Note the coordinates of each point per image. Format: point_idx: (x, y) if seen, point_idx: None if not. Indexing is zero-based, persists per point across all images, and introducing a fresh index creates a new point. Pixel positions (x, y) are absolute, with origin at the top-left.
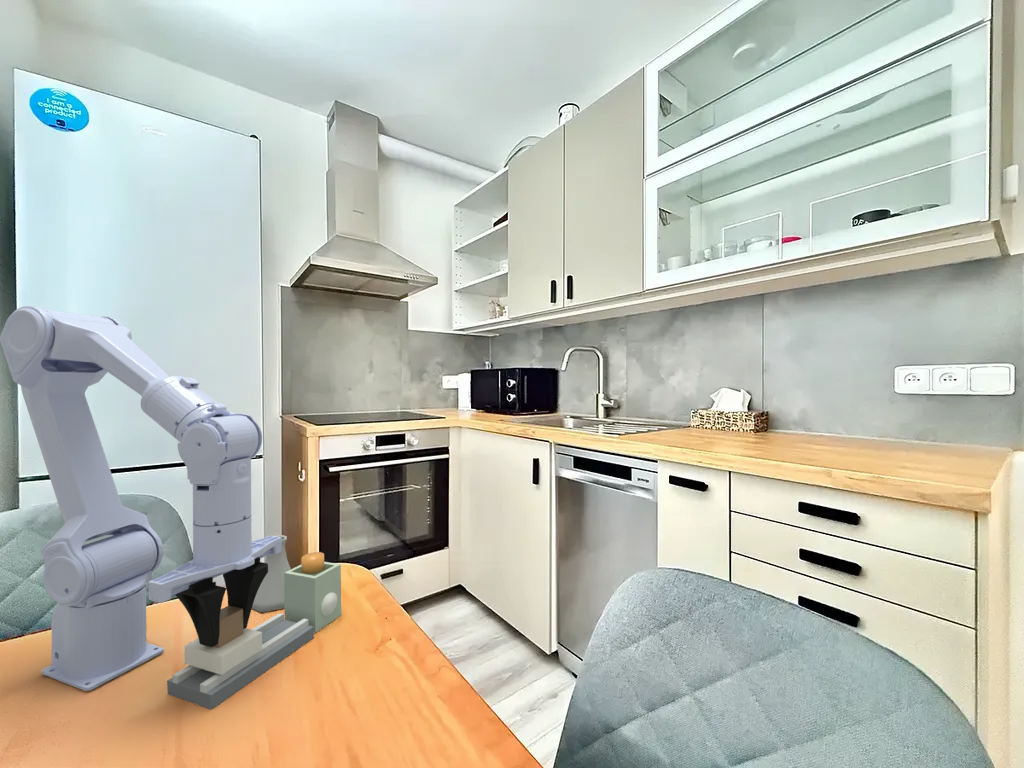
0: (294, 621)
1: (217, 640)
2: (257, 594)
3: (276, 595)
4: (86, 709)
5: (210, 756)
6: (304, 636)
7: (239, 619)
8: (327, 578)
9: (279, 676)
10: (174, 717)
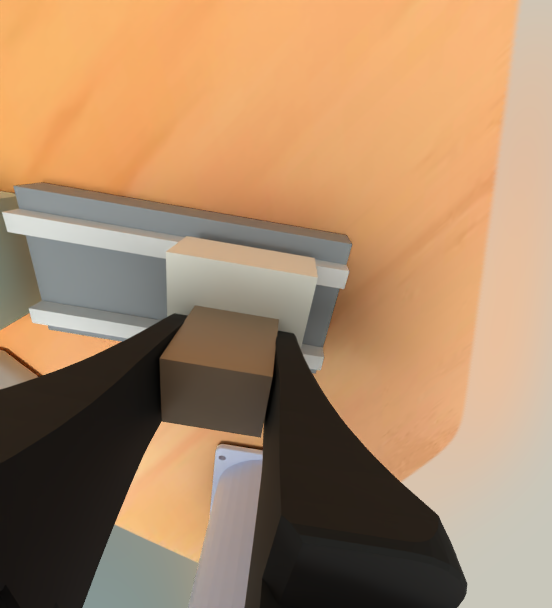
0: (27, 277)
1: (281, 334)
2: None
3: None
4: (361, 434)
5: (496, 102)
6: (60, 191)
7: (190, 338)
8: None
9: (209, 155)
10: (372, 292)
